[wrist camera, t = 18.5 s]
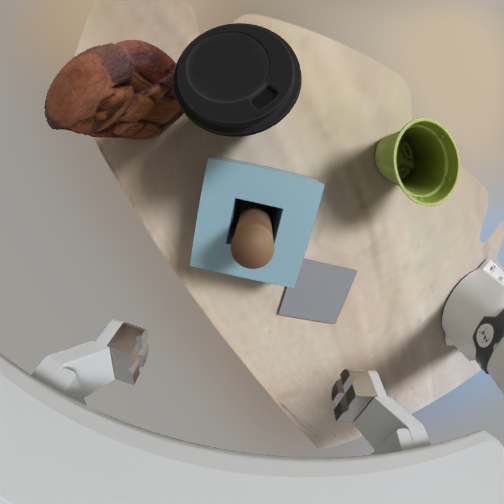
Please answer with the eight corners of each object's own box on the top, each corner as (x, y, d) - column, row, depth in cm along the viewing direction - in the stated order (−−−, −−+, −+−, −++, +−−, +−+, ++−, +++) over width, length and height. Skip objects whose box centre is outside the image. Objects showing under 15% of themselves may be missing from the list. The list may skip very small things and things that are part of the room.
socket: (313, 178, 32) (324, 184, 26) (289, 266, 36) (294, 288, 31) (217, 156, 31) (207, 157, 26) (200, 247, 36) (189, 265, 30)
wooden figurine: (135, 155, 31) (39, 170, 14) (112, 121, 29) (13, 115, 13) (208, 98, 29) (154, 49, 12) (181, 63, 27) (114, 2, 10)
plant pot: (401, 111, 28) (438, 104, 20) (431, 171, 30) (469, 180, 22) (349, 143, 30) (377, 142, 22) (384, 205, 33) (416, 222, 25)
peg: (272, 204, 33) (279, 233, 22) (266, 231, 35) (268, 272, 23) (244, 198, 33) (235, 224, 22) (238, 225, 34) (227, 264, 23)
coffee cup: (270, 152, 31) (278, 154, 17) (196, 129, 30) (148, 116, 16) (296, 84, 28) (322, 38, 14) (222, 61, 27) (195, 6, 13)
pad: (356, 270, 36) (356, 271, 36) (334, 322, 39) (335, 323, 39) (295, 257, 36) (296, 258, 35) (278, 312, 39) (278, 314, 38)
